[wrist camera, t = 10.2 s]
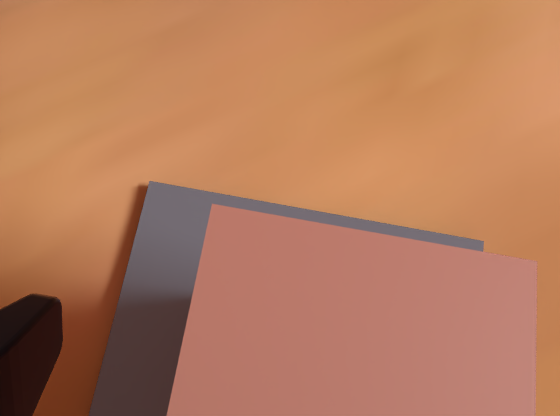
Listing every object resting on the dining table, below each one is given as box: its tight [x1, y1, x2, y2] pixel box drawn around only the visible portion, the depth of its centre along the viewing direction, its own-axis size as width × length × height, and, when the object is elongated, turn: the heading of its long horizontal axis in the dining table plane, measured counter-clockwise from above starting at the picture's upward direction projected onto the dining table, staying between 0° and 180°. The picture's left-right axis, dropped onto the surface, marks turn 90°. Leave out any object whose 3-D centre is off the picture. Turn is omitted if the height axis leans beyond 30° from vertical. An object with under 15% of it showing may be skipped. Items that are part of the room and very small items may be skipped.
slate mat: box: [89, 181, 484, 416], centre depth 17 cm, size 12×12×1 cm
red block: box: [167, 204, 537, 416], centre depth 12 cm, size 5×5×10 cm
